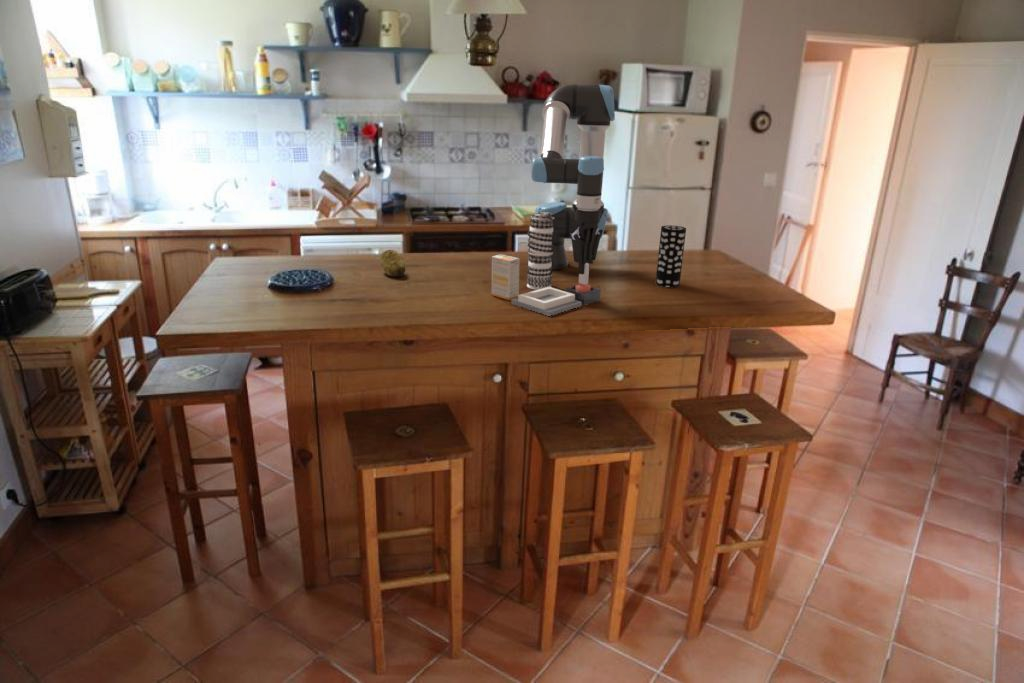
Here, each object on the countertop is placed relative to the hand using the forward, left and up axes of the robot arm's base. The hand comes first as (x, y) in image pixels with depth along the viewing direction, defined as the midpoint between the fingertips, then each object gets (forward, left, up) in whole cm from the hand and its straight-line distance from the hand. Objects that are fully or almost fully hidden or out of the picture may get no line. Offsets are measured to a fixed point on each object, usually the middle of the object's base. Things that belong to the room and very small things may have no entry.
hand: (583, 283), depth 214 cm
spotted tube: (+7, +38, -6) cm, 39 cm away
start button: (0, 0, -4) cm, 4 cm away
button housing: (0, 0, -6) cm, 6 cm away
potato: (-64, -28, -6) cm, 70 cm away
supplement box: (-19, -16, -6) cm, 26 cm away
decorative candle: (-20, +1, -6) cm, 21 cm away
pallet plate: (-4, -13, -6) cm, 14 cm away
